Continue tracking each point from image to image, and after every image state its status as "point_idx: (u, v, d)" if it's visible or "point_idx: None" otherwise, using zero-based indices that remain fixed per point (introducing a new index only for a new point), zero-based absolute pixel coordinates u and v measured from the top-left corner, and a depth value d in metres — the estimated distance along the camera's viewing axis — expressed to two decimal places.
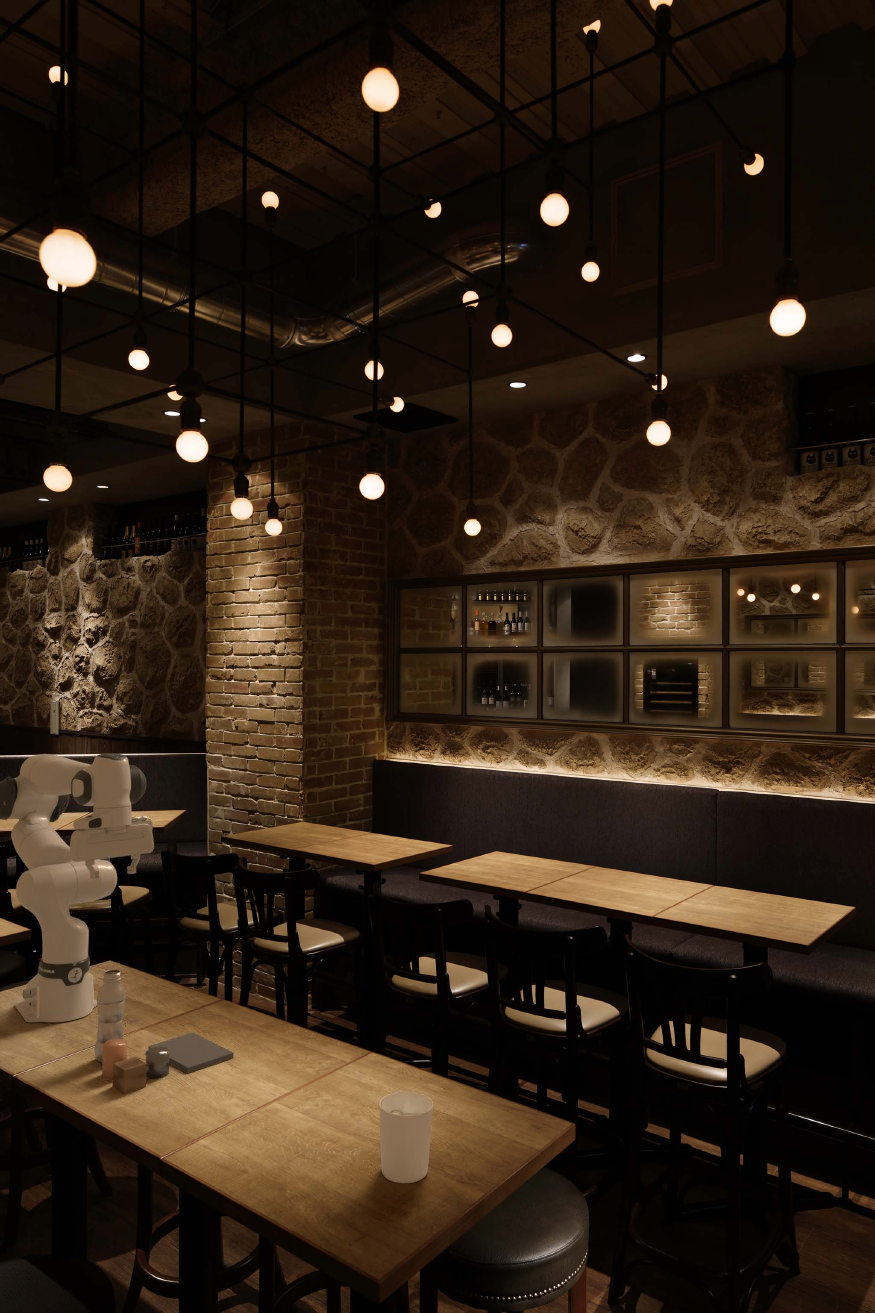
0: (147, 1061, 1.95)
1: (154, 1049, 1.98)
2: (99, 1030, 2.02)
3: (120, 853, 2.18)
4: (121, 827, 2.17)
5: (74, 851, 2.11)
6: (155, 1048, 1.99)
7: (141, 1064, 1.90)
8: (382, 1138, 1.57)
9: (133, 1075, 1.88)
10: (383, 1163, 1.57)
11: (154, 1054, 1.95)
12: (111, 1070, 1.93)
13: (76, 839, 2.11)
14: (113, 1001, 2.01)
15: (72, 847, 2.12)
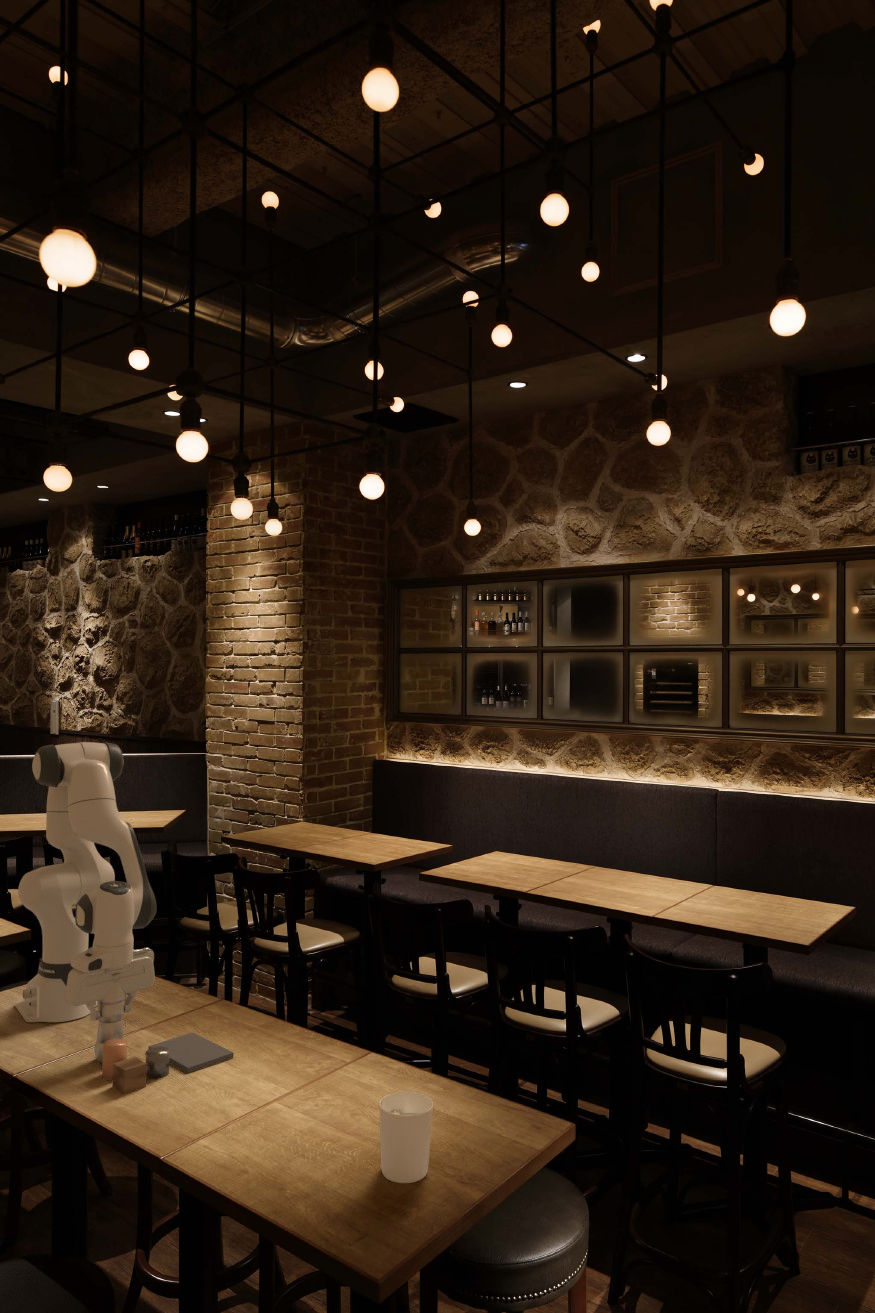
0: (147, 1061, 1.95)
1: (154, 1049, 1.98)
2: (99, 1030, 2.02)
3: None
4: (122, 966, 2.03)
5: (71, 995, 1.96)
6: (155, 1048, 1.99)
7: (141, 1064, 1.90)
8: (382, 1138, 1.57)
9: (133, 1075, 1.88)
10: (383, 1163, 1.57)
11: (154, 1054, 1.95)
12: (111, 1070, 1.93)
13: (74, 982, 1.96)
14: (114, 1001, 2.01)
15: (69, 989, 1.97)
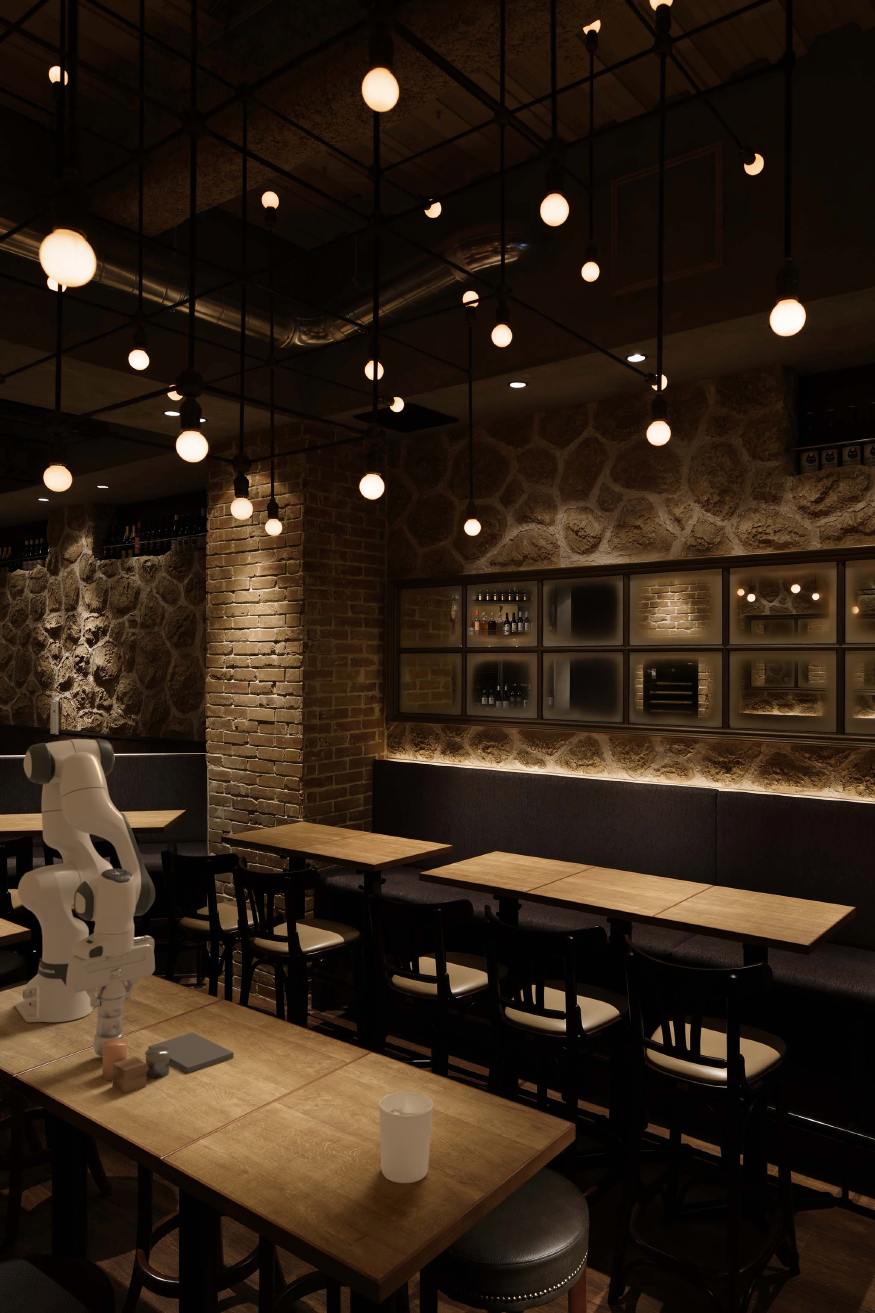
0: (147, 1061, 1.95)
1: (154, 1049, 1.98)
2: (99, 1024, 2.02)
3: None
4: (123, 953, 2.03)
5: (71, 982, 1.96)
6: (155, 1048, 1.99)
7: (141, 1064, 1.90)
8: (382, 1138, 1.57)
9: (133, 1075, 1.88)
10: (383, 1163, 1.57)
11: (153, 1054, 1.95)
12: (111, 1070, 1.93)
13: (75, 969, 1.97)
14: (114, 997, 2.02)
15: (69, 976, 1.97)
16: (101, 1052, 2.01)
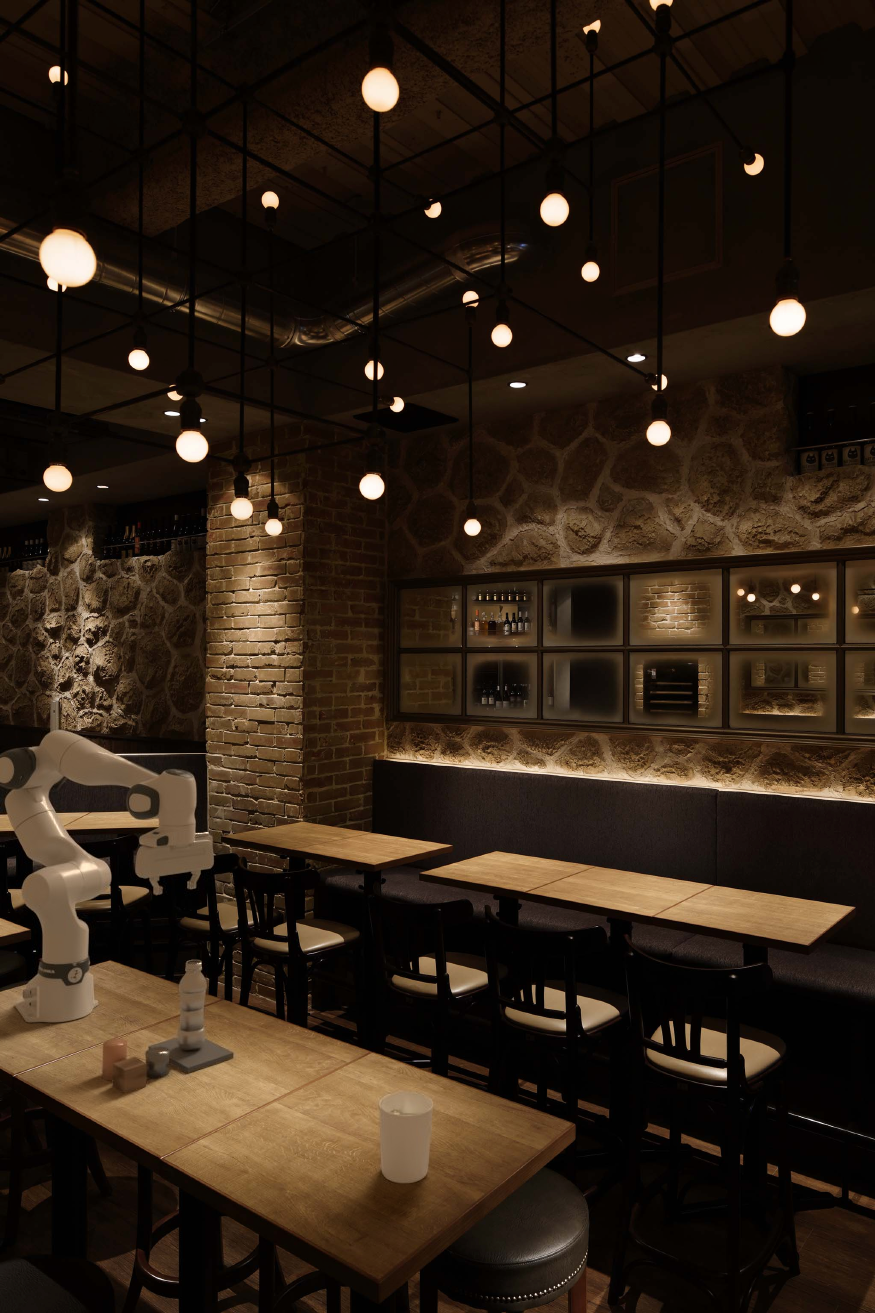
0: (146, 1061, 1.96)
1: (155, 1049, 1.98)
2: (182, 1018, 2.07)
3: (183, 870, 2.21)
4: (186, 844, 2.20)
5: (141, 868, 2.13)
6: (156, 1048, 1.99)
7: (141, 1064, 1.90)
8: (382, 1138, 1.57)
9: (133, 1075, 1.88)
10: (383, 1163, 1.57)
11: (153, 1054, 1.95)
12: (110, 1070, 1.93)
13: (144, 856, 2.13)
14: (196, 990, 2.06)
15: (138, 863, 2.14)
16: (185, 1046, 2.05)
